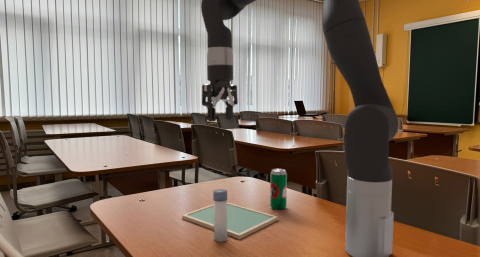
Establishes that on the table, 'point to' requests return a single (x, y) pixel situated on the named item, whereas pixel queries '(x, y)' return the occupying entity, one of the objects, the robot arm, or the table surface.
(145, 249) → the table surface
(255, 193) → the table surface
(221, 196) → the marker
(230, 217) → the slate
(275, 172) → the soda can
